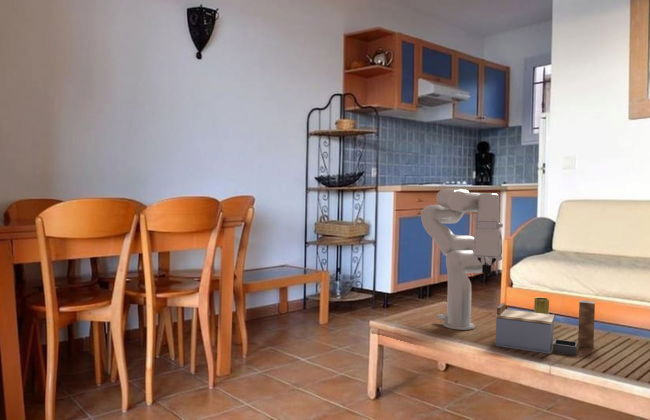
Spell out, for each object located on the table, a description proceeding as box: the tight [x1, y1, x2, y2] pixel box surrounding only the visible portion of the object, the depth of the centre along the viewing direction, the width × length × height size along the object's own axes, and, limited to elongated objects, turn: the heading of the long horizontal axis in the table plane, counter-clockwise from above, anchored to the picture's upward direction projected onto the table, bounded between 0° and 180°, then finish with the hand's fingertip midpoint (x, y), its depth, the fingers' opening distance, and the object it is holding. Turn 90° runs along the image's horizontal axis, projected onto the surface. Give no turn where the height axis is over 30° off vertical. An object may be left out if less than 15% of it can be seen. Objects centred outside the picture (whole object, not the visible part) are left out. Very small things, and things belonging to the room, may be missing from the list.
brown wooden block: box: [577, 299, 596, 349], centre depth 190 cm, size 5×5×16 cm
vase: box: [533, 296, 550, 314], centre depth 204 cm, size 6×6×14 cm
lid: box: [494, 302, 556, 324], centre depth 188 cm, size 19×13×3 cm
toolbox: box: [495, 317, 555, 355], centre depth 188 cm, size 18×12×10 cm, turn 62°
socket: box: [552, 338, 578, 357], centre depth 181 cm, size 7×7×3 cm
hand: (486, 275), depth 194 cm, fingers closed
